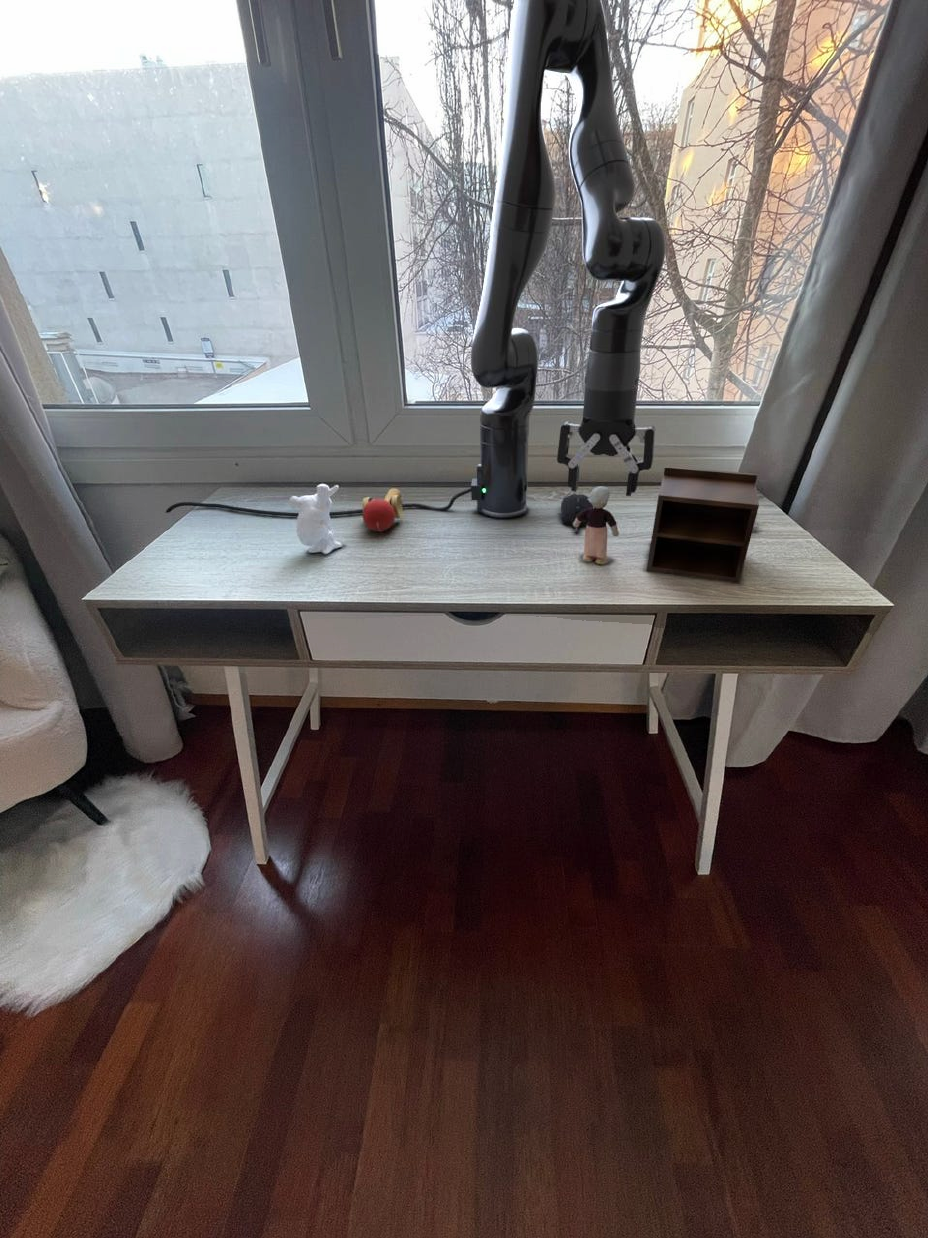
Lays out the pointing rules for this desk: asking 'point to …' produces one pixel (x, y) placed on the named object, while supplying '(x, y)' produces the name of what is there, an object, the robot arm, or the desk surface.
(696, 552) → the rack
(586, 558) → the grandmother figurine
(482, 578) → the desk surface
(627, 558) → the desk surface
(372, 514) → the kendama
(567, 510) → the gaming mouse
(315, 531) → the white sculpted figure
